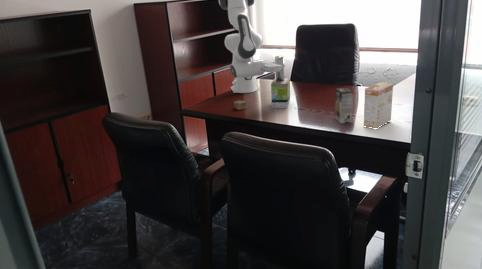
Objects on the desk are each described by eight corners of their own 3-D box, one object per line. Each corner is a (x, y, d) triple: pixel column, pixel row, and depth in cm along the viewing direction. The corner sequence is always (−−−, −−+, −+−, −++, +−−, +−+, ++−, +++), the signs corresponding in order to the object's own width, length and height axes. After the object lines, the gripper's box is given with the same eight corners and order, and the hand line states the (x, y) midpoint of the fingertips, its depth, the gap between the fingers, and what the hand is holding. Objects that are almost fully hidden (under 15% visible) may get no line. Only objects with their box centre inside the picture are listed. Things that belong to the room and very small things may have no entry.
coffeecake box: (378, 119, 205) (380, 81, 198) (391, 121, 200) (394, 83, 193) (362, 127, 196) (364, 88, 189) (376, 130, 191) (378, 90, 184)
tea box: (288, 108, 234) (287, 83, 229) (271, 108, 236) (270, 83, 231) (290, 101, 248) (289, 77, 242) (274, 101, 250) (273, 77, 244)
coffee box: (334, 118, 211) (335, 88, 206) (346, 117, 212) (347, 87, 206) (340, 123, 203) (340, 92, 197) (352, 122, 203) (353, 91, 197)
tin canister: (274, 80, 238) (273, 56, 233) (282, 79, 240) (281, 55, 235) (278, 81, 233) (277, 57, 229) (286, 80, 235) (285, 56, 230)
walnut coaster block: (234, 108, 240) (234, 102, 239) (241, 106, 243) (240, 100, 241) (239, 110, 236) (239, 103, 235) (246, 108, 239) (245, 101, 237)
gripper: (265, 64, 219) (288, 61, 223) (251, 59, 237) (272, 56, 241) (266, 76, 221) (288, 72, 225) (252, 70, 239) (273, 67, 243)
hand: (280, 64), depth 233 cm, fingers open, 8 cm apart
